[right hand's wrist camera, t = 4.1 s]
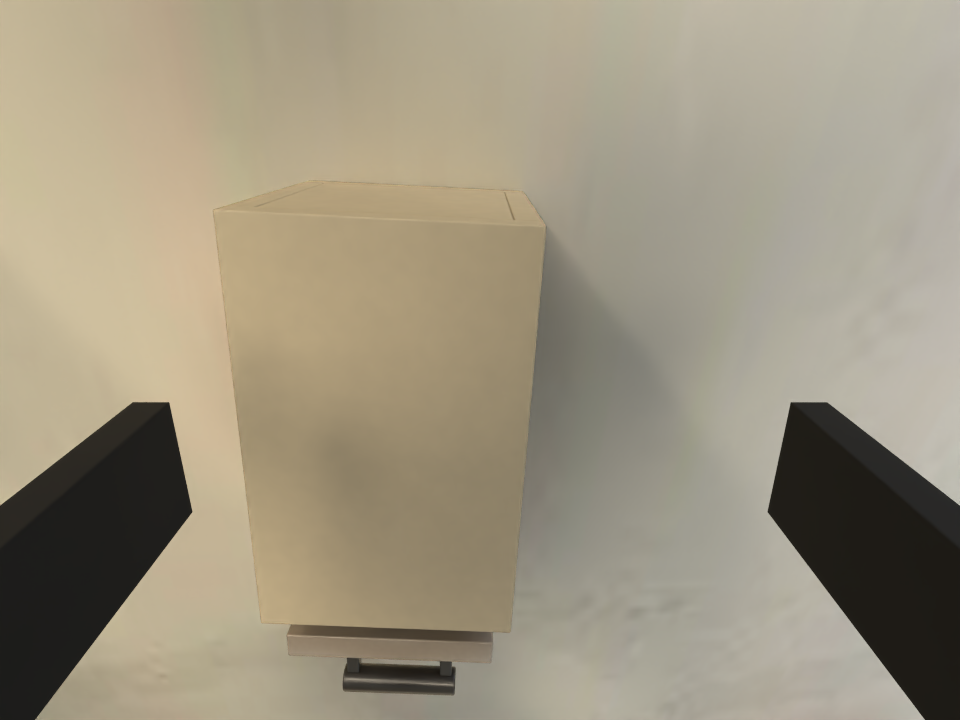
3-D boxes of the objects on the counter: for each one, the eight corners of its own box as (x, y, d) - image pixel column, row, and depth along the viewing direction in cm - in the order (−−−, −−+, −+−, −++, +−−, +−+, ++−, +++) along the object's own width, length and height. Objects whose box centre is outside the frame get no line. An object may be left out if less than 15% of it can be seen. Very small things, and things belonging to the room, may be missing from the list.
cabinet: (502, 486, 33) (510, 633, 24) (325, 478, 33) (260, 623, 23) (523, 191, 27) (546, 225, 18) (308, 180, 27) (212, 209, 18)
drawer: (484, 614, 36) (484, 753, 28) (338, 608, 35) (297, 747, 28) (506, 279, 28) (515, 339, 20) (320, 270, 28) (255, 327, 20)
